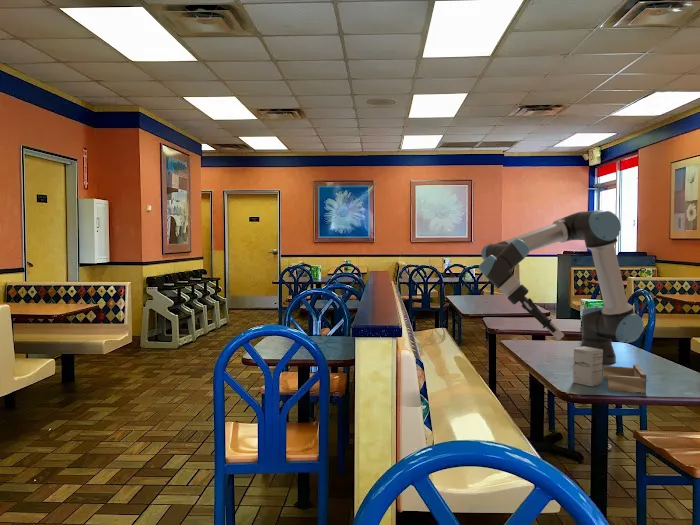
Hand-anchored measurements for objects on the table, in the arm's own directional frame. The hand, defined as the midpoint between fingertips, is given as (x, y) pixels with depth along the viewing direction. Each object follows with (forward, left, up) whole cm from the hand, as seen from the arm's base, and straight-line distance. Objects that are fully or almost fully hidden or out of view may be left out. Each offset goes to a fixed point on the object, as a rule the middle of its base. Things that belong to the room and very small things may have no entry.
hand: (561, 337), depth 209 cm
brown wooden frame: (0, +20, -16) cm, 26 cm away
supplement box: (0, +9, -16) cm, 19 cm away
